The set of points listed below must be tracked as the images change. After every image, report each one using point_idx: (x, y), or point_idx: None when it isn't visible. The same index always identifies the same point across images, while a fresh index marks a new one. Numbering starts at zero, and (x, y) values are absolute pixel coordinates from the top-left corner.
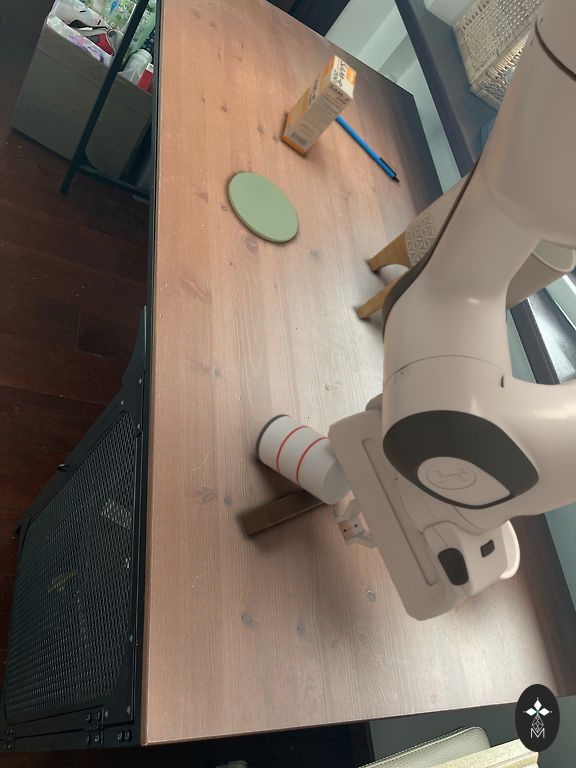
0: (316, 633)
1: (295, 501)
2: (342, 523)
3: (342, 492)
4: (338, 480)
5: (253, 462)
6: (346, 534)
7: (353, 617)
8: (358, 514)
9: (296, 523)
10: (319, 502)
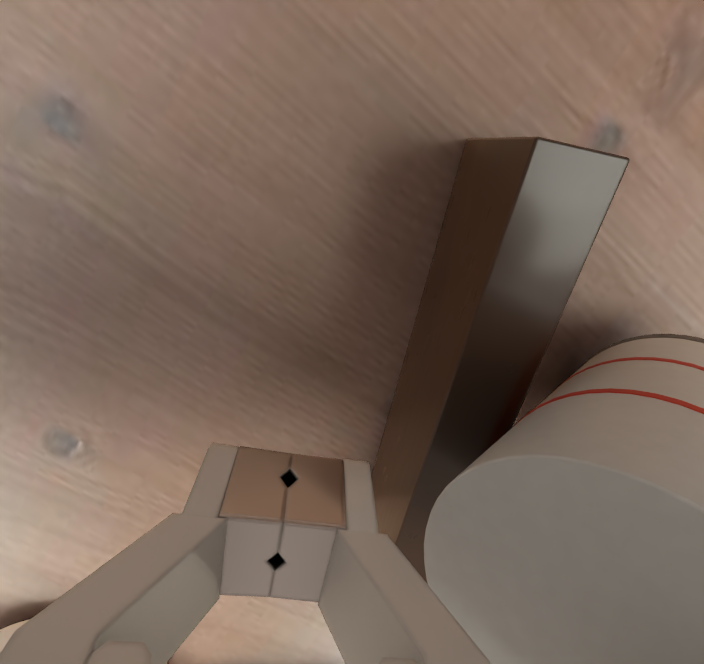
0: (23, 176)
1: (517, 340)
2: (333, 487)
3: (468, 577)
4: (593, 617)
5: (618, 322)
6: (264, 474)
7: (23, 349)
8: (325, 611)
9: (381, 344)
10: (434, 440)
